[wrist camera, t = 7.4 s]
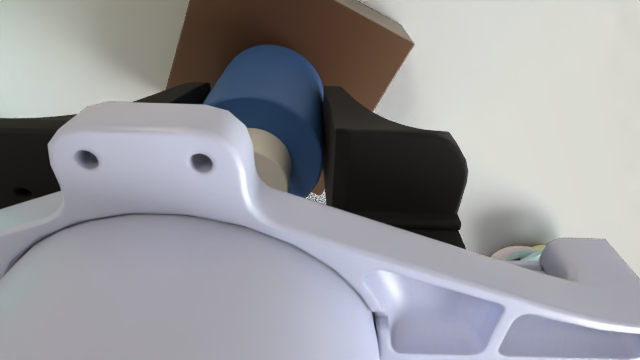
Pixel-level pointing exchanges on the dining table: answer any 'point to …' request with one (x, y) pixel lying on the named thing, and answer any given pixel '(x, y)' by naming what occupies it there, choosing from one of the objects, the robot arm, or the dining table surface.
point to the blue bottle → (277, 114)
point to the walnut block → (295, 43)
